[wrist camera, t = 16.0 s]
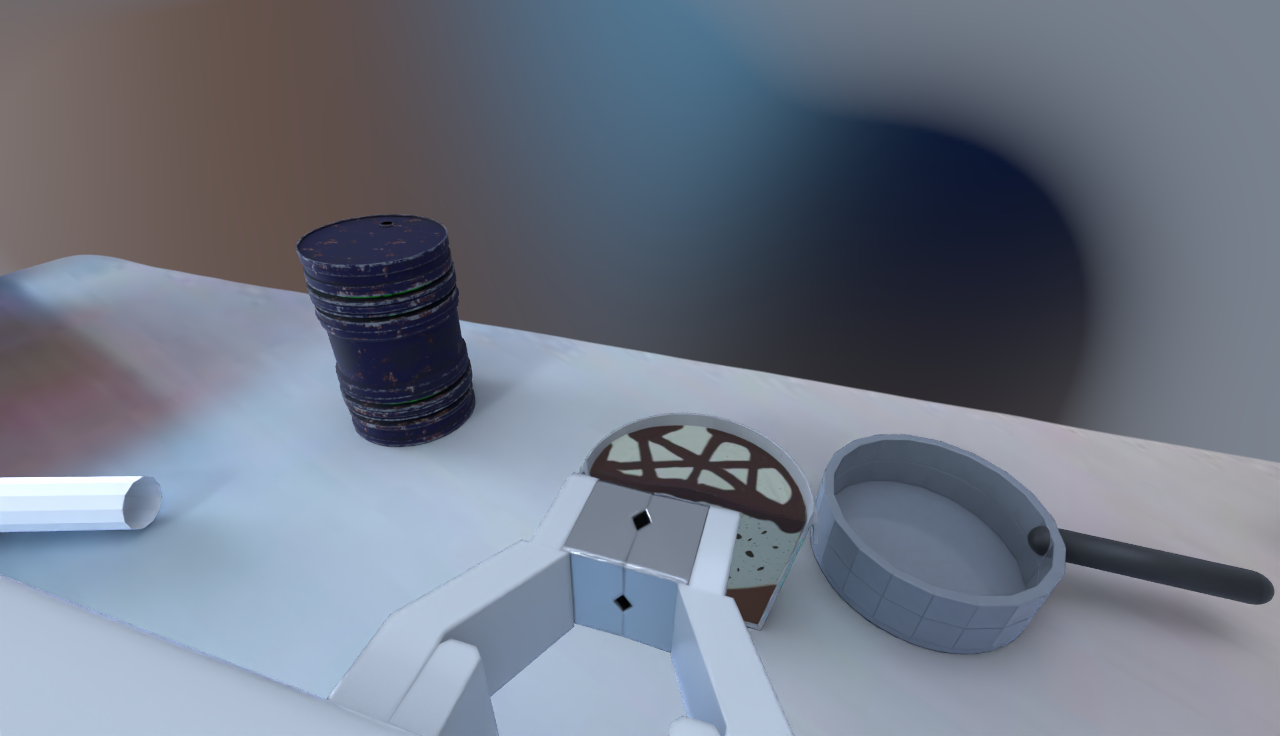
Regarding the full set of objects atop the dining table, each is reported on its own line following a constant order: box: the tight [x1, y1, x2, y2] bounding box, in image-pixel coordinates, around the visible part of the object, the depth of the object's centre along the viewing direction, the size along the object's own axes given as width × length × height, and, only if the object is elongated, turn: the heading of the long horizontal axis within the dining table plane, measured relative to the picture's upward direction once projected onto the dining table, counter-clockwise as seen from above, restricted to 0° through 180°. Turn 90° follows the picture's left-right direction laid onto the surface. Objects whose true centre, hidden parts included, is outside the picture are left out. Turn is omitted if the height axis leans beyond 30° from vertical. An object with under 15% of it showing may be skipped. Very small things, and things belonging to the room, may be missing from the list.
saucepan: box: [810, 434, 1066, 654], centre depth 35 cm, size 13×13×4 cm
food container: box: [579, 413, 818, 630], centre depth 32 cm, size 12×6×10 cm, turn 74°
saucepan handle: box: [1027, 526, 1274, 605], centre depth 32 cm, size 12×2×2 cm, turn 74°
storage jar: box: [296, 214, 475, 447], centre depth 43 cm, size 10×10×15 cm
